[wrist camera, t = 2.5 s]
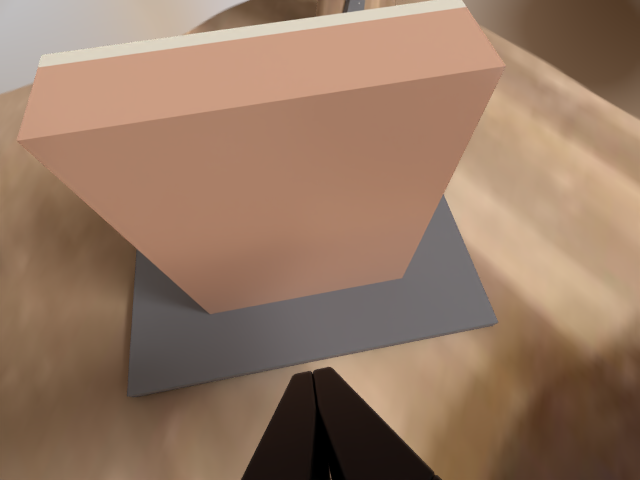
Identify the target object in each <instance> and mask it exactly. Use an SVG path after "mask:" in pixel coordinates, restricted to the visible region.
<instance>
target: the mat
mask: <svg viewBox="0 0 640 480" xmlns="http://www.w3.org/2000/svg"><path fill="white" fill-rule="evenodd" d="M496 323H498V321H497V318H496V316H495V314H494V311H493V309H492V307H491V304H490V302H489V300H488V297H487V295H486V293H485V290H484V288H483V286H482V283H481V281H480V279H479V276H478V274H477V272H476V269H475V267H474V265H473V262H472V260H471V258H470V255H469V253H468V251H467V248H466V246H465V244H464V241H463V239H462V236H461V234H460V232H459V229H458V227H457V225H456V222H455V220H454V218H453V215H452V213H451V211H450V208H449V206H448V204H447V201H446V199H445V197H444V194H443V196H442V198H441V200H440V202H439V204H438V206H437V208H436V210H435V212H434V214H433V216H432V218H431V220H430V222H429V224H428V226H427V228H426V230H425V232H424V235H423V237H422V239H421V241H420V243H419V245H418V247H417V249H416V251H415V253H414V255H413V257H412V259H411V261H410V263H409V265H408V267H407V269H406V271H405V273H404V275H403V277H402V278H400V279H395V280H390V281H384V282H379V283H374V284H368V285H363V286H358V287H352V288H347V289H342V290H336V291H331V292H326V293H320V294H315V295H310V296H304V297H299V298H294V299H288V300H283V301H278V302H272V303H267V304H262V305H257V306H251V307H246V308H241V309H235V310H230V311H225V312H219V313H214V314H209V313H208V312H207V311H206V310H205V309H203V308H202V307H201V306H200V305H199V304H198V303H197V302H196V301H194V300H193V299H192V298H191V297H190V296H189V295H188V294H187V293H186V292H184V291H183V290H182V289H181V288H180V287H179V286H178V285H177V284H176V283H174V282H173V281H172V280H171V279H170V278H169V277H168V276H167V275H165V274H164V273H163V272H162V271H161V270H160V269H159V268H158V267H157V266H155V265H154V264H153V263H152V262H151V261H150V260H149V259H148V258H147V257H145V256H144V255H143V254H142V253H141V252H140V251H139V250H138V249H137V252H136V267H135V282H134V298H133V313H132V328H131V343H130V358H129V374H128V389H127V396H129V397H138V396H143V395H148V394H153V393H158V392H163V391H168V390H173V389H178V388H183V387H188V386H193V385H198V384H203V383H208V382H213V381H218V380H223V379H228V378H233V377H238V376H243V375H248V374H253V373H258V372H263V371H268V370H273V369H278V368H283V367H288V366H293V365H298V364H303V363H308V362H313V361H318V360H323V359H328V358H333V357H338V356H343V355H348V354H353V353H358V352H363V351H368V350H373V349H378V348H383V347H388V346H393V345H398V344H403V343H408V342H413V341H418V340H423V339H428V338H433V337H438V336H444V335H449V334H454V333H459V332H464V331H469V330H474V329H479V328H484V327H489V326H493V325H495V324H496Z"/></svg>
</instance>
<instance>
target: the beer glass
mask: <svg viewBox="0 0 640 480" xmlns="http://www.w3.org/2000/svg"><path fill="white" fill-rule="evenodd" d="M390 6H396V0H317V6H316V14H315V17H318V16H326V15H333V14H340V13H347V12H354V11H361V10H369V9H376V8H383V7H390Z"/></svg>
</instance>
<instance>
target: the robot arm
mask: <svg viewBox="0 0 640 480" xmlns="http://www.w3.org/2000/svg"><path fill="white" fill-rule="evenodd" d="M329 469H330V470H329ZM330 474H331V477H330ZM331 479H332V480H442V479H441V478H440V477H439V476H438V475H434V472H433V470H432V469H431V468H430V467H429V466H428V465H427V464H426V463H425V462H424V461H423V460H422V459H421V458H420V457H419V456H418V455H417V454H416V453H415V452H414V451H413V450H412V449H411V448H410V447H409V446H408V445H407V444H406V443H405V442H404V441H403V440H402V439H401V438H400V437H399V436H398V435H397V434H396V433H395V432H394V431H393V430H392V429H391V428H390V426H389V425H388V424H387V423H386V422H385V421H384V420H383V419H382V418H381V417H380V416H379V415H378V414H377V413H376V412H375V411H374V410H373V409H372V408H371V407H370V406H369V405H368V404H367V403H366V402H365V401H364V400H363V399H362V398H361V397H360V396H359V395H358V394H357V393H356V392H355V391H354V390H353V389H352V388H351V387H350V386H349V385H348V384H347V383H346V382H345V381H344V380H343V378H342V377H341V376H340V375H339V374H338V373H337V372H336V371H335V370H334V369H333V368H331V367H326V368H321V369H317V370H314V371H313V373H312V372H311V371H307V372H302V373H297V374H294V375H293V376H292V378H291V380H290V382H289V384H288V386H287V388H286V390H285V392H284V394H283V397H282V399H281V401H280V403H279V405H278V407H277V409H276V411H275V413H274V415H273V417H272V419H271V421H270V423H269V425H268V427H267V429H266V431H265V433H264V435H263V437H262V439H261V441H260V443H259V445H258V447H257V449H256V451H255V453H254V455H253V457H252V459H251V461H250V463H249V465H248V467H247V469H246V471H245V473H244V475H243V477H242V479H241V480H331Z"/></svg>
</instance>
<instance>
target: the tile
mask: <svg viewBox="0 0 640 480" xmlns="http://www.w3.org/2000/svg"><path fill="white" fill-rule="evenodd" d="M505 67H506V65H505V64H504V62H503V61H502V59H501V58H500V56H499V55H498V53H497V52H496V50H495V49H494V47H493V46H492V44H491V43H490V41H489V40H488V38H487V37H486V35H485V34H484V32H483V31H482V29H481V28H480V26H479V25H478V23H477V22H476V21H475V19H474V18H473V16H472V15H471V13H470V12H469V10H468V9H467V7H466V6H465V4H464V3H463V1H462V0H433V1H426V2H419V3H412V4H404V5H397V6H390V7H383V8H376V9H369V10H361V11H354V12H347V13H340V14H333V15H326V16H318V17H311V18H304V19H297V20H290V21H282V22H275V23H268V24H261V25H254V26H247V27H239V28H232V29H225V30H218V31H211V32H203V33H196V34H189V35H182V36H175V37H168V38H160V39H154V40H146V41H139V42H132V43H124V44H118V45H110V46H103V47H96V48H89V49H82V50H74V51H68V52H60V53H53V54H46V55H42V56H41V59H40V62H39V66H38V69H37V73H36V76H35V80H34V83H33V86H32V90H31V93H30V97H29V100H28V103H27V107H26V110H25V114H24V117H23V121H22V124H21V127H20V131H19V134H18V138H17V142H18V143H19V144H21V145H22V146H23V147H24V148H25V149H26V150H27V151H28V152H30V153H31V154H32V155H33V156H34V157H35V158H36V159H37V160H38V161H40V162H41V163H42V164H43V165H44V166H45V167H46V168H47V169H48V170H50V171H51V172H52V173H53V174H54V175H55V176H56V177H57V178H58V179H60V180H61V181H62V182H63V183H64V184H65V185H66V186H67V187H69V188H70V189H71V190H72V191H73V192H74V193H75V194H76V195H77V196H79V197H80V198H81V199H82V200H83V201H84V202H85V203H86V204H87V205H89V206H90V207H91V208H92V209H93V210H94V211H95V212H96V213H98V214H99V215H100V216H101V217H102V218H103V219H104V220H105V221H106V222H108V223H109V224H110V225H111V226H112V227H113V228H114V229H115V230H116V231H118V232H119V233H120V234H121V235H122V236H123V237H124V238H125V239H126V240H128V241H129V242H130V243H131V244H132V245H133V246H134V247H135V248H137V249H138V250H139V251H140V252H141V253H142V254H143V255H144V256H145V257H147V258H148V259H149V260H150V261H151V262H152V263H153V264H154V265H155V266H157V267H158V268H159V269H160V270H161V271H162V272H163V273H164V274H165V275H167V276H168V277H169V278H170V279H171V280H172V281H173V282H174V283H176V284H177V285H178V286H179V287H180V288H181V289H182V290H183V291H184V292H186V293H187V294H188V295H189V296H190V297H191V298H192V299H193V300H194V301H196V302H197V303H198V304H199V305H200V306H201V307H202V308H203V309H205V310H206V311H207V312H208V313H209V314H214V313H219V312H225V311H230V310H235V309H241V308H246V307H251V306H257V305H262V304H267V303H272V302H278V301H283V300H288V299H294V298H299V297H304V296H310V295H315V294H320V293H326V292H331V291H336V290H342V289H347V288H352V287H358V286H363V285H368V284H374V283H379V282H384V281H390V280H395V279H400V278H402V277H403V275H404V273H405V271H406V269H407V267H408V265H409V263H410V261H411V259H412V257H413V255H414V253H415V251H416V249H417V247H418V245H419V243H420V241H421V239H422V237H423V235H424V232H425V230H426V228H427V226H428V224H429V222H430V220H431V218H432V216H433V214H434V212H435V210H436V208H437V206H438V204H439V202H440V200H441V198H442V196H443V194H444V192H445V190H446V187H447V185H448V183H449V181H450V179H451V177H452V175H453V173H454V171H455V169H456V167H457V165H458V163H459V161H460V159H461V157H462V155H463V153H464V151H465V149H466V147H467V145H468V143H469V140H470V138H471V136H472V134H473V132H474V130H475V128H476V126H477V124H478V122H479V120H480V118H481V116H482V114H483V112H484V110H485V108H486V106H487V104H488V102H489V100H490V98H491V95H492V93H493V91H494V89H495V87H496V85H497V83H498V81H499V79H500V77H501V75H502V73H503V71H504V69H505Z"/></svg>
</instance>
